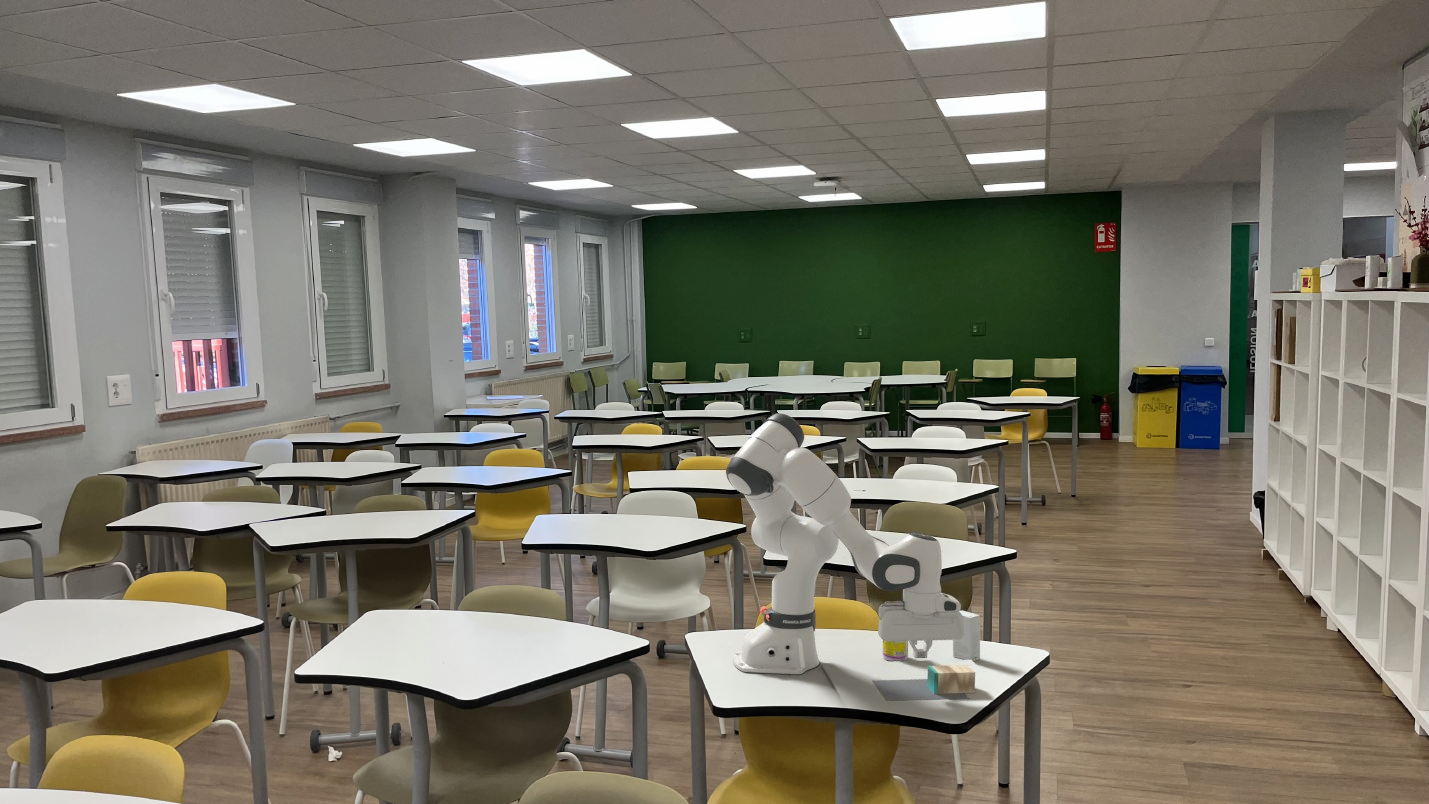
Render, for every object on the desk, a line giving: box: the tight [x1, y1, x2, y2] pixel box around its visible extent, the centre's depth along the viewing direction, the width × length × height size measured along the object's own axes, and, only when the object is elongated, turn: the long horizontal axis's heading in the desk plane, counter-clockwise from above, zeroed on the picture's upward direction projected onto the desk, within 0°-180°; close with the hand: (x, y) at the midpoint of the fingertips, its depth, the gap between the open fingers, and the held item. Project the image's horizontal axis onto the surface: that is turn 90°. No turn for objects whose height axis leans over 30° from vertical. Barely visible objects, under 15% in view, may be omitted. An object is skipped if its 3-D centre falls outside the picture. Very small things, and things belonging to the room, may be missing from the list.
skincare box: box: [952, 610, 981, 662], centre depth 257 cm, size 6×4×12 cm
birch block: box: [926, 664, 976, 694], centre depth 232 cm, size 5×5×10 cm
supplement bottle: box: [882, 640, 909, 663], centre depth 256 cm, size 7×7×13 cm
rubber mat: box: [872, 678, 971, 702], centre depth 232 cm, size 20×13×1 cm, turn 95°
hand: (920, 657), depth 231 cm, fingers closed
